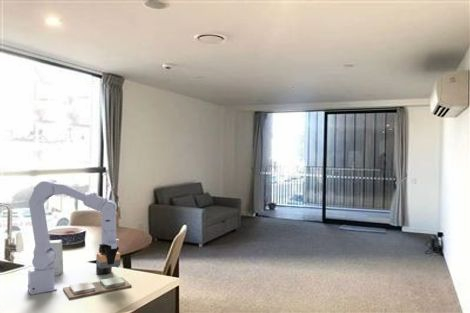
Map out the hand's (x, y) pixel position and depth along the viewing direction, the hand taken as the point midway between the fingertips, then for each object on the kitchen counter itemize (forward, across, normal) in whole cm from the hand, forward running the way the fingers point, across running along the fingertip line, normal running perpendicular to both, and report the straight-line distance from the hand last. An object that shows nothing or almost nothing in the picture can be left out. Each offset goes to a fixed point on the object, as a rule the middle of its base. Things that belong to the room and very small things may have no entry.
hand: (108, 262), depth 157 cm
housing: (+1, 0, 0) cm, 1 cm away
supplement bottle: (+10, +19, -4) cm, 22 cm away
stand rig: (+10, 0, +4) cm, 11 cm away
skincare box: (+10, +31, +17) cm, 37 cm away
